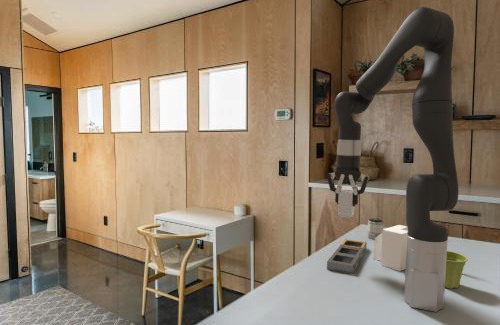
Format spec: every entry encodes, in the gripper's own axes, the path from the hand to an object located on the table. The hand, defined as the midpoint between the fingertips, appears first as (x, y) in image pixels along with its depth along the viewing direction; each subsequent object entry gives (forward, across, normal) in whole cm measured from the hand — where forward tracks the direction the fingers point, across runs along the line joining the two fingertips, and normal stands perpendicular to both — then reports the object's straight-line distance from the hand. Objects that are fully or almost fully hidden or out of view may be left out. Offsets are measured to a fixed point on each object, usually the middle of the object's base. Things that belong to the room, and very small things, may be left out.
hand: (346, 204), depth 121 cm
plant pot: (+20, +30, -4) cm, 37 cm away
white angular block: (+20, +15, +8) cm, 26 cm away
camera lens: (+20, +6, +36) cm, 42 cm away
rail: (+20, 0, +5) cm, 20 cm away
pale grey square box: (+4, 0, 0) cm, 4 cm away
